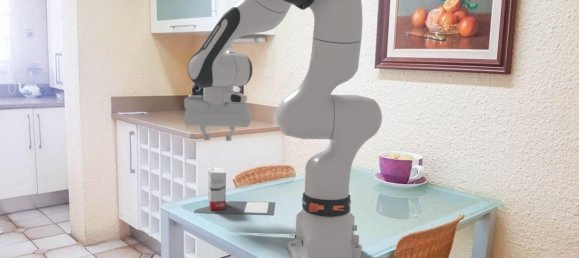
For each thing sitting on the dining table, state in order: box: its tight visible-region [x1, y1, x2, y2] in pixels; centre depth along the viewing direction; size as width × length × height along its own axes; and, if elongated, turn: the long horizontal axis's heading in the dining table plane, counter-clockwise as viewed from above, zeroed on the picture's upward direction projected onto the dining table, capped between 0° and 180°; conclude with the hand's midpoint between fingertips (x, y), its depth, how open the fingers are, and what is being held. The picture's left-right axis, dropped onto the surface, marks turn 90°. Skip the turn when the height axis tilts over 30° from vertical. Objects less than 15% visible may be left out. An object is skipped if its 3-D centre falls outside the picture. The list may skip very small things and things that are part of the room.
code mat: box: [193, 200, 276, 216], centre depth 145 cm, size 13×24×1 cm, turn 89°
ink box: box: [207, 166, 227, 210], centre depth 145 cm, size 9×5×12 cm, turn 15°
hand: (217, 140), depth 143 cm, fingers open, 5 cm apart
